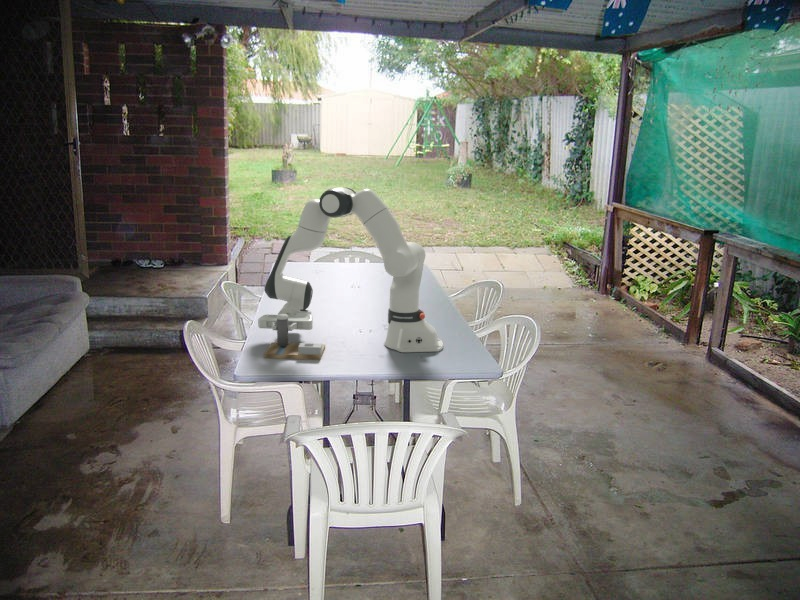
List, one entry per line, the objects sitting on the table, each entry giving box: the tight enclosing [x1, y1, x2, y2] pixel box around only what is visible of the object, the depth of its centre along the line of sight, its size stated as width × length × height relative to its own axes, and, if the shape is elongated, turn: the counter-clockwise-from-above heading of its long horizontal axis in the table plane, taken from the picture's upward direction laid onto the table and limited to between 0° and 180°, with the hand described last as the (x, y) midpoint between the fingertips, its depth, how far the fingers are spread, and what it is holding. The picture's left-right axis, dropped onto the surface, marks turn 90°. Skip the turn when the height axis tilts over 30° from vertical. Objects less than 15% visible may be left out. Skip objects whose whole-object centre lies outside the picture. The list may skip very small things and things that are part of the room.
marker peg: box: [276, 313, 289, 346], centre depth 250 cm, size 4×4×11 cm
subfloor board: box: [264, 342, 326, 361], centre depth 249 cm, size 20×13×2 cm, turn 89°
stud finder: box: [298, 342, 323, 355], centre depth 245 cm, size 8×4×3 cm, turn 89°
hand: (282, 328), depth 249 cm, fingers open, 4 cm apart
